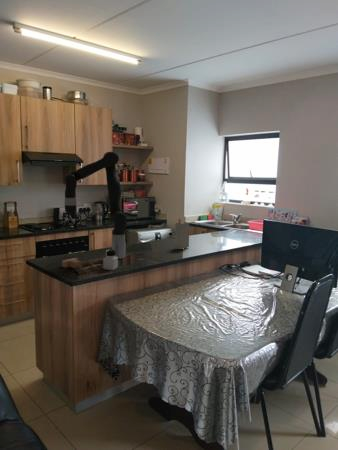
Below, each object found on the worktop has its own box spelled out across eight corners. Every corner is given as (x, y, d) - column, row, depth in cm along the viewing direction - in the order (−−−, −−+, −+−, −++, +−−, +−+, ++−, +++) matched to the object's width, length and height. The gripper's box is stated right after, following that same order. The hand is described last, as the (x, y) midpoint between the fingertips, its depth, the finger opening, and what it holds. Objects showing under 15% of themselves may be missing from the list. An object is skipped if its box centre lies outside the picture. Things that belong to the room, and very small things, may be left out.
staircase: (188, 248, 296) (189, 218, 292) (179, 250, 288) (180, 219, 284) (181, 247, 301) (182, 217, 297) (172, 249, 293) (173, 218, 289)
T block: (74, 263, 238) (74, 257, 238) (85, 266, 232) (85, 260, 231) (62, 266, 230) (61, 260, 230) (72, 269, 224) (72, 263, 223)
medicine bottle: (117, 267, 232) (118, 249, 230) (113, 270, 225) (113, 251, 223) (107, 266, 233) (107, 248, 231) (103, 269, 226) (103, 250, 225)
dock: (93, 266, 232) (93, 262, 232) (102, 268, 227) (102, 264, 227) (72, 271, 219) (72, 267, 218) (80, 274, 214) (80, 269, 213)
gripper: (82, 204, 236) (82, 228, 238) (68, 203, 244) (68, 226, 246) (72, 205, 230) (73, 230, 232) (59, 204, 238) (59, 227, 240)
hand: (71, 228), depth 239 cm, fingers open, 8 cm apart
